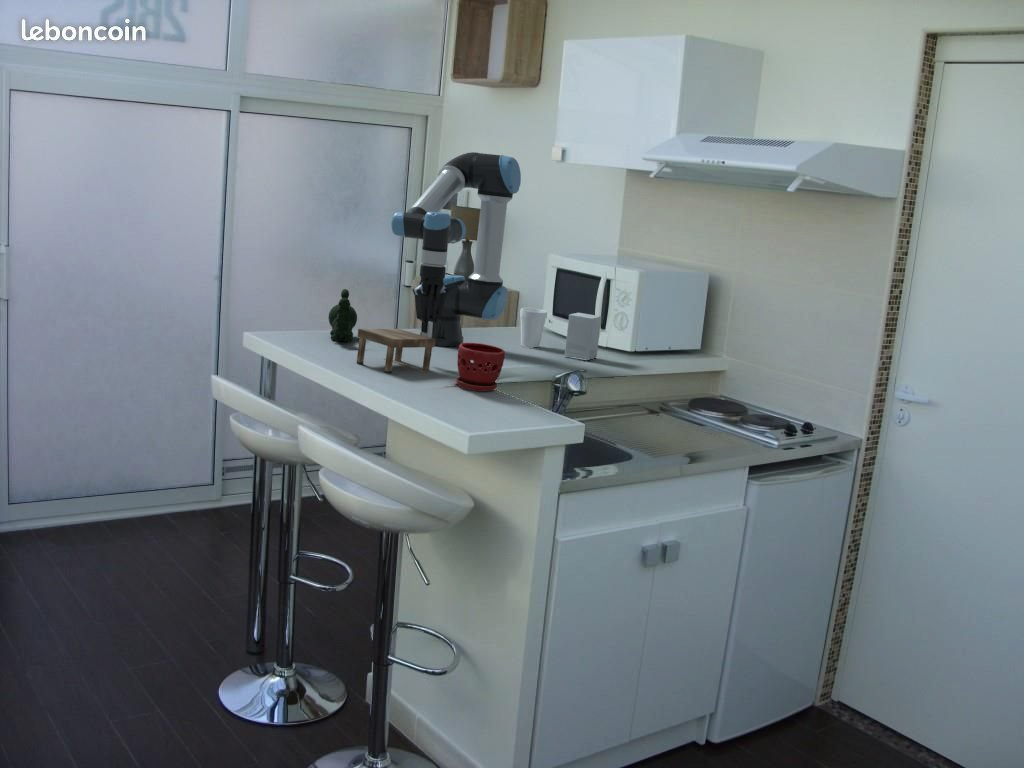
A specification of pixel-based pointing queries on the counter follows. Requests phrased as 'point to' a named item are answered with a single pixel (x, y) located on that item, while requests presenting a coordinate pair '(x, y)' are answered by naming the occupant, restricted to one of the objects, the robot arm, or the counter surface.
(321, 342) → the counter surface
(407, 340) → the footstool
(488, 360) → the plant pot
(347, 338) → the toy figurine
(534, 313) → the foam cup
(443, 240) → the robot arm
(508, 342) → the counter surface
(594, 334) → the supplement box
